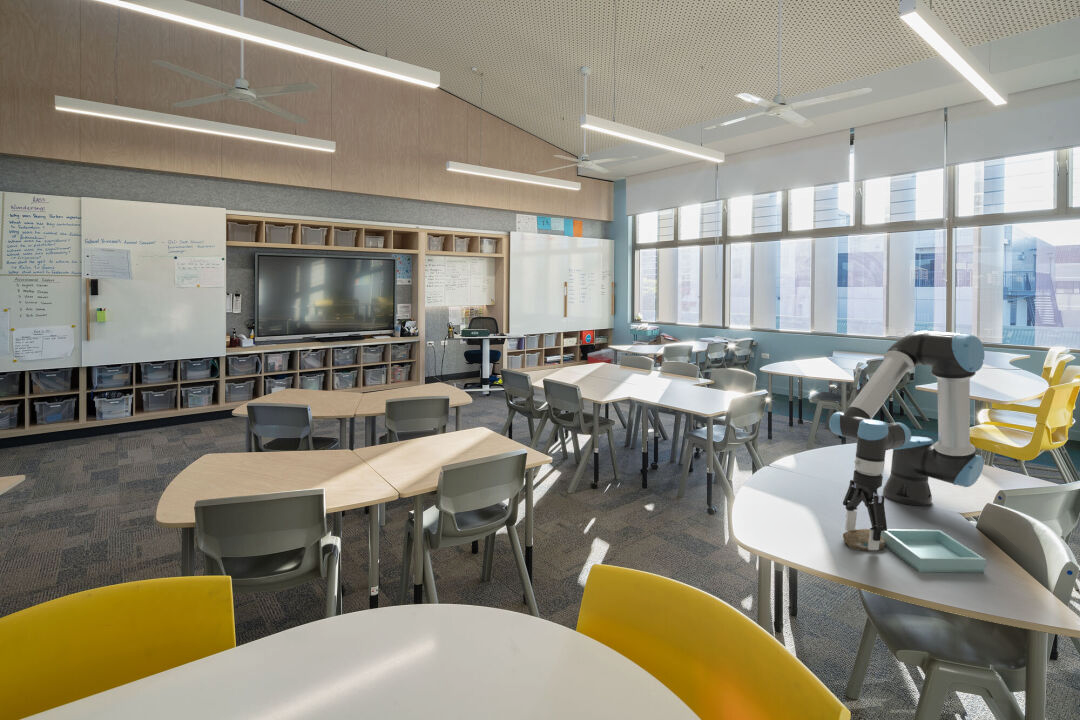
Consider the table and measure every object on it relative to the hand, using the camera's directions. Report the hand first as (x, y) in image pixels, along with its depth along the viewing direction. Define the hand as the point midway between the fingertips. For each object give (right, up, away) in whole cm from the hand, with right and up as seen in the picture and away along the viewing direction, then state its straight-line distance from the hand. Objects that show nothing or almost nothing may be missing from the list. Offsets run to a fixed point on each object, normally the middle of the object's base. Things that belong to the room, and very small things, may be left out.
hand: (861, 539), depth 168 cm
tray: (+16, -3, -7) cm, 18 cm away
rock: (0, -2, -1) cm, 2 cm away
